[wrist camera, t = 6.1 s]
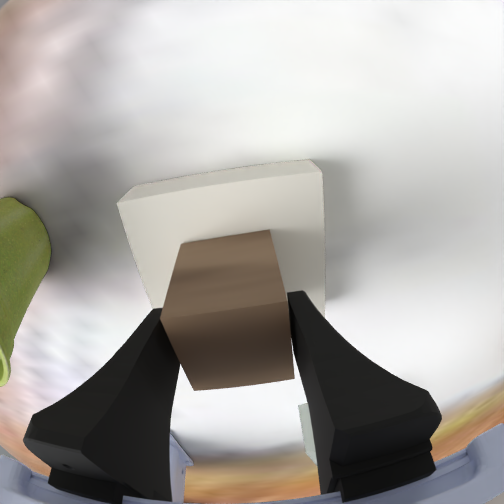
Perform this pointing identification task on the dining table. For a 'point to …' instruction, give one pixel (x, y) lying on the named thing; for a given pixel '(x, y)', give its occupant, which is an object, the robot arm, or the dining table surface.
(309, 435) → the grey cube
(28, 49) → the dining table surface
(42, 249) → the plant pot
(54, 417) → the robot arm
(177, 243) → the cream block
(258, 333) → the walnut block
